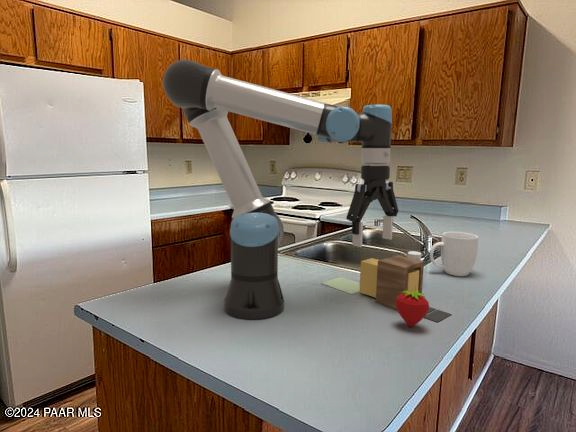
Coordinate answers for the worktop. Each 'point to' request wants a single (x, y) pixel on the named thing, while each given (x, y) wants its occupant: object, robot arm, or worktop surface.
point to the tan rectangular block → (370, 278)
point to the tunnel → (395, 278)
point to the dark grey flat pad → (436, 315)
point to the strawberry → (412, 307)
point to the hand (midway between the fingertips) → (372, 242)
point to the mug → (457, 252)
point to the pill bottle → (414, 255)
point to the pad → (343, 285)
